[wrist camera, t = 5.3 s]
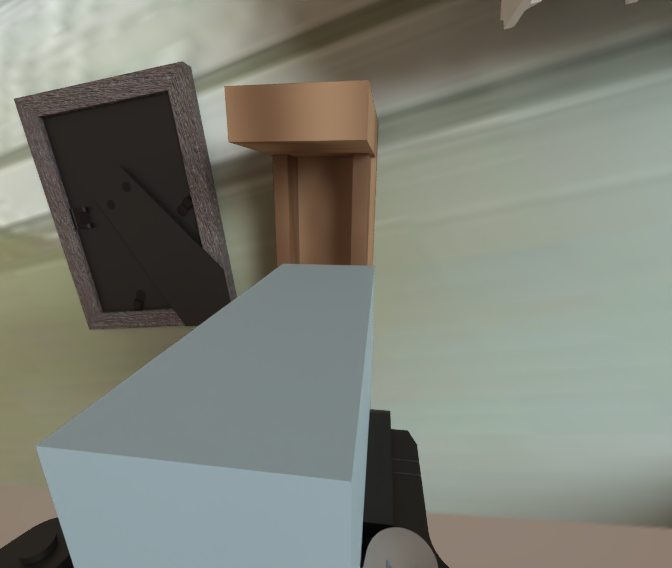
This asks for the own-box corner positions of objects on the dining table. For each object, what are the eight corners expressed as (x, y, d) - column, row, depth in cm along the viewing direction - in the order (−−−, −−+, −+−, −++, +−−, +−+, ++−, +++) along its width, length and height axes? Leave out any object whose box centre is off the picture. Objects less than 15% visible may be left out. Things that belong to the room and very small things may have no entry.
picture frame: (243, 316, 31) (194, 68, 26) (233, 324, 29) (178, 59, 24) (102, 323, 34) (33, 103, 29) (85, 331, 32) (8, 97, 27)
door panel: (374, 265, 10) (351, 482, 3) (368, 509, 13) (347, 956, 5) (259, 263, 11) (-36, 438, 3) (276, 497, 14) (140, 891, 6)
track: (378, 124, 24) (369, 79, 15) (369, 344, 29) (357, 418, 20) (287, 126, 25) (224, 86, 16) (293, 338, 30) (248, 405, 21)
